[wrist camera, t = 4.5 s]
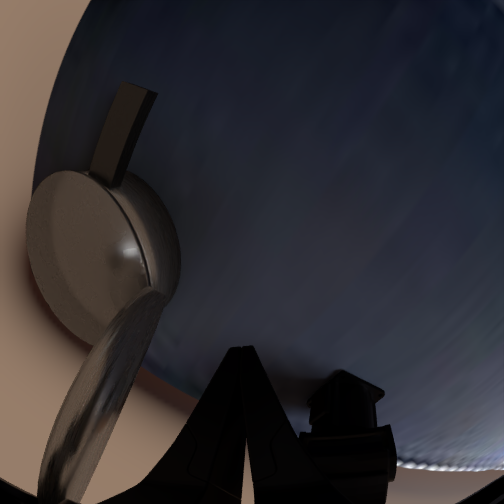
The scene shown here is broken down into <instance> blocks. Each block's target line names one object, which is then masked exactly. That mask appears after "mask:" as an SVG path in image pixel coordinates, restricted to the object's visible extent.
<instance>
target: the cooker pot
mask: <svg viewBox="0 0 504 504" xmlns="http://www.w3.org/2000/svg"><path fill="white" fill-rule="evenodd" d="M157 95H158V93H156V92H153V91H151V90H148V89H145V88H143V87H140V86H137V85H134V84H131V83H127V82H124V81H122V83H121V85H120V87H119V89H118V92H117V94H116V96H115V99H114V101H113V103H112V106H111V108H110V111H109V113H108V116H107V118H106V121H105V124H104V126H103V129H102V132H101V135H100V138H99V141H98V144H97V147H96V150H95V153H94V156H93V159H92V162H91V166H90V169H89V170H86V171H80V172H79V171H72V170H67V171H60V172H56V173H54V174H51V175H50V176H48V177H47V178H45V179H44V180H43V181H42V182H41V183H40V185H39V186H38V187H37V189H36V190H35V192H34V194H33V196H32V199H31V202H30V205H29V208H28V213H27V220H26V243H27V251H28V256H29V261H30V265H31V268H32V272H33V275H34V277H35V280H36V282H37V285H38V287H39V289H40V291H41V293H42V295H43V297H44V299H45V300H46V302H47V303H48V305H49V307H50V308H51V310H52V311H53V312H54V314H55V315H56V316H57V317H58V319H59V320H60V321H61V322H62V323H63V324H64V325H65V326H66V327H67V328H68V329H69V330H70V331H71V332H72V333H73V334H75V335H76V336H77V337H79V338H80V339H82V340H83V341H85V342H87V343H88V344H91V345H93V346H94V345H95V344H96V342H97V341H98V339H99V338H100V336H101V335H102V333H103V332H104V331H105V329H106V328H107V326H108V325H109V324H110V322H111V321H112V320H113V318H114V317H115V316H116V315H117V313H118V312H119V311H120V310H121V309H122V307H123V306H124V305H125V304H126V303H127V302H128V301H129V300H130V299H131V298H132V297H133V296H134V295H135V294H136V293H137V292H139V291H140V290H141V289H143V288H145V287H151V288H153V289H155V290H157V291H159V292H160V293H162V294H164V295H165V296H166V300H165V305H164V308H165V307H166V306H167V304H168V303H169V302H170V301H171V299H172V297H173V295H174V294H175V292H176V289H177V286H178V283H179V278H180V271H181V253H180V246H179V240H178V237H177V233H176V229H175V226H174V224H173V221H172V219H171V216H170V214H169V213H168V211H167V209H166V207H165V205H164V204H163V202H162V201H161V199H160V198H159V196H158V195H157V194H156V193H155V191H154V190H153V189H152V188H151V187H150V186H149V185H148V184H147V183H146V182H145V181H144V180H142V179H141V178H139V177H138V176H137V175H135V174H133V173H131V172H129V171H126V169H127V167H128V164H129V161H130V158H131V156H132V153H133V150H134V148H135V145H136V143H137V140H138V138H139V135H140V133H141V130H142V128H143V126H144V123H145V121H146V119H147V117H148V114H149V112H150V110H151V108H152V106H153V103H154V101H155V99H156V97H157ZM164 308H163V309H164Z"/></svg>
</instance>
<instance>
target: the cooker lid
mask: <svg viewBox="0 0 504 504" xmlns="http://www.w3.org/2000/svg"><path fill="white" fill-rule="evenodd" d="M165 300H166V296H165V295H164V294H162V293H160V292H159V291H157V290H155V289H153V288H151V287H145V288H143V289H141V290H140V291H139V292H137V293H136V294H135V295H134V296H133V297H132V298H131V299H130V300H129V301H128V302H127V303H126V304H125V305H124V306H123V307H122V309H121V310H120V311H119V312H118V313H117V315H116V316H115V317H114V318H113V320H112V321H111V322H110V324H109V325H108V326H107V328H106V329H105V331H104V332H103V333H102V335H101V336H100V338H99V339H98V341H97V342H96V344H95V345H94V347H93V348H92V350H91V352H90V353H89V355H88V356H87V358H86V360H85V361H84V363H83V365H82V366H81V368H80V370H79V372H78V374H77V376H76V377H75V379H74V381H73V383H72V385H71V387H70V389H69V391H68V393H67V395H66V397H65V399H64V402H63V404H62V406H61V408H60V410H59V413H58V415H57V417H56V420H55V423H54V425H53V428H52V431H51V433H50V436H49V439H48V442H47V445H46V449H45V452H44V456H43V459H42V463H41V468H40V474H39V480H38V491H37V501H38V504H59V503H61V502H62V501H64V500H65V499H69V500H72V501H75V502H78V503H80V501H81V499H82V497H83V495H84V493H85V491H86V488H87V486H88V484H89V482H90V480H91V478H92V476H93V473H94V471H95V469H96V467H97V465H98V462H99V460H100V458H101V455H102V453H103V451H104V449H105V447H106V444H107V442H108V440H109V438H110V435H111V433H112V431H113V429H114V426H115V424H116V422H117V420H118V417H119V415H120V413H121V410H122V408H123V406H124V403H125V401H126V399H127V397H128V394H129V392H130V390H131V388H132V385H133V383H134V381H135V378H136V376H137V374H138V371H139V369H140V367H141V364H142V362H143V360H144V357H145V355H146V353H147V350H148V348H149V345H150V343H151V341H152V338H153V336H154V333H155V331H156V328H157V325H158V323H159V320H160V317H161V315H162V312H163V308H164V305H165Z"/></svg>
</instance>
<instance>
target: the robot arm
mask: <svg viewBox="0 0 504 504" xmlns="http://www.w3.org/2000/svg"><path fill="white" fill-rule="evenodd" d="M342 375H344V376H342ZM384 396H385V392H384V390H382V389H380V388H378V387H376V386H374V385H372V384H369V383H367V382H365V381H363V380H361V379H359V378H357V377H355V376H353V375H352V374H350V373H348V372H345V371H341V372H339V373H338V374H337V375H336V376H335V377H334V378H333V379H332V380H331V381H330V382H328V383H326V384H325V385H324V386H323V387H321V388H320V389H319V390H318V391H317V392H316V393H315V394H313V395H312V397H311V398H310V399H309V400H308V401H307V406H308V407H310V408H311V410H310V417H309V424H310V425H312V429H311V433H306V432H300V435H299V438H298V437H297V435H296V433H295V432H294V430H293V428H292V426H291V424H290V422H289V420H288V418H287V416H286V414H285V412H284V410H283V408H282V406H281V404H280V402H279V400H278V397H277V395H276V393H275V391H274V389H273V387H272V385H271V383H270V381H269V378H268V376H267V374H266V372H265V370H264V368H263V366H262V363H261V361H260V359H259V357H258V355H257V353H256V350H255V348H254V346H252V345H250V346H243V347H242V348H241V347H231V348H229V350H228V351H227V353H226V355H225V357H224V358H223V360H222V362H221V364H220V365H219V367H218V369H217V371H216V372H215V374H214V376H213V378H212V379H211V381H210V383H209V385H208V386H207V388H206V390H205V391H204V393H203V395H202V397H201V398H200V400H199V402H198V404H197V405H196V407H195V409H194V410H193V412H192V414H191V415H190V417H189V419H188V420H187V422H186V423H187V424H185V425H184V427H183V429H182V430H181V432H180V433H179V435H178V436H177V438H176V440H175V441H174V443H173V444H172V445H171V447H170V448H169V449H168V451H167V452H166V453H165V454H164V456H163V457H162V458H161V459H160V460H159V462H158V463H157V464H156V465H155V467H154V468H153V469H152V470H151V471H150V472H149V474H148V475H147V476H146V477H145V478H144V479H143V480H142V481H141V482H140V483H138V484H137V485H136V486H134V487H132V488H130V489H128V490H126V491H124V492H122V493H120V494H118V495H115V496H114V497H111V498H109V499H107V500H104V501H102V502H100V503H97V504H241V498H242V486H243V473H244V460H245V446H246V438H247V445H248V453H249V460H250V467H251V474H252V481H253V488H254V502H255V503H254V504H385V503H386V496H387V489H388V482H392V481H394V479H395V475H396V468H397V454H396V447H395V443H394V438H393V434H392V430H391V426H390V424H389V425H385V426H381V427H377V416H376V406H375V403H376V402H378V401H379V400H380V399H381V398H383V397H384ZM0 504H38V501H37V496H35V495H33V494H30V493H28V492H26V491H24V490H22V489H20V488H18V487H17V486H14V485H13V484H11V483H9V482H7V481H6V480H4V479H2V478H0ZM59 504H80V503H78V502H75V501H72V500H69V499H65V500H64V501H62V502H61V503H59ZM456 504H504V475H502V476H501V477H499V478H498V479H496V480H494V481H493V482H491V483H489V484H488V485H487V486H485V487H483V488H482V489H480V490H479V491H477V492H475V493H474V494H472V495H470V496H468V497H467V498H465V499H463V500H461V501H460V502H458V503H456Z"/></svg>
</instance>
